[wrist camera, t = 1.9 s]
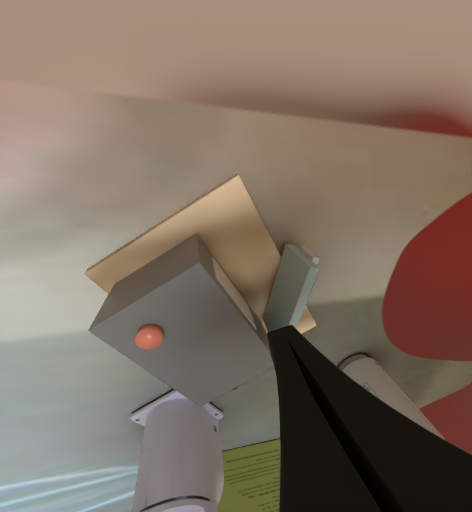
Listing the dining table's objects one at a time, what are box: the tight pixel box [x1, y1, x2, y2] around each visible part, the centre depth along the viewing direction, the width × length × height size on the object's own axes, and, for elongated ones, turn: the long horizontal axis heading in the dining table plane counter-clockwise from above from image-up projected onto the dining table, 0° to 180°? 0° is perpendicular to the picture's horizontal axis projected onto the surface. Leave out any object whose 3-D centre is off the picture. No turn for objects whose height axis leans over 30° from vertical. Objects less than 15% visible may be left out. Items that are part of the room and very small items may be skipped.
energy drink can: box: [339, 355, 445, 440], centre depth 24 cm, size 6×6×15 cm
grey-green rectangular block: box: [263, 244, 320, 332], centre depth 18 cm, size 9×2×4 cm, turn 170°
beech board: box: [84, 175, 316, 334], centre depth 20 cm, size 19×14×1 cm
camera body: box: [88, 233, 274, 407], centre depth 18 cm, size 13×8×6 cm, turn 30°
